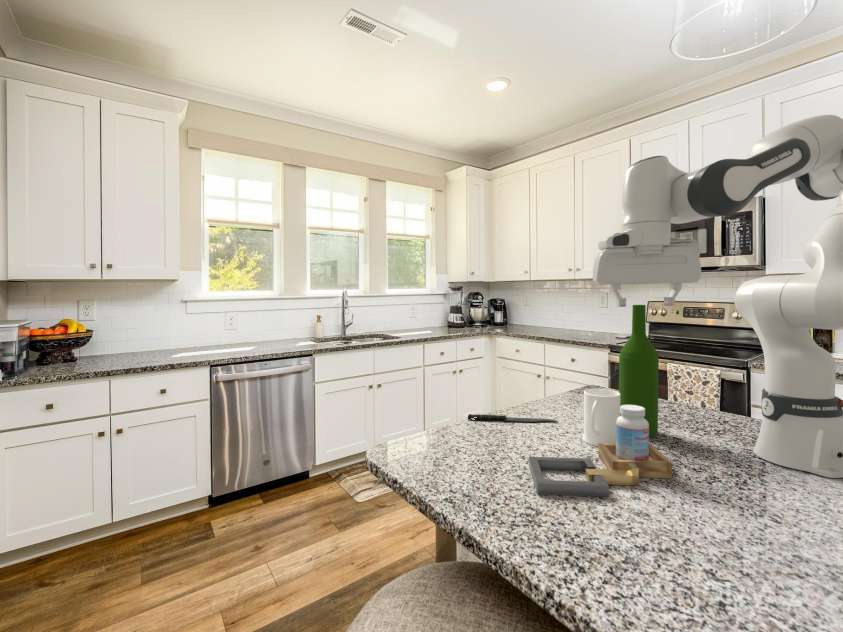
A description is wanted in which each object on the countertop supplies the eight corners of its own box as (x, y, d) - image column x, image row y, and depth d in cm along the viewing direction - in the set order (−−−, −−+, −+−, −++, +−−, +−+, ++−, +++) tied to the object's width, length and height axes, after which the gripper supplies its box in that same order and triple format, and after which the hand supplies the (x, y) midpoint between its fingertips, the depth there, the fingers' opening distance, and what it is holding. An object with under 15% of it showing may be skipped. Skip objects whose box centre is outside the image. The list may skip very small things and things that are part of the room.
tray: (651, 457, 92) (651, 444, 92) (672, 478, 82) (672, 463, 82) (598, 456, 94) (598, 443, 93) (612, 476, 84) (612, 461, 84)
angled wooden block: (633, 479, 82) (633, 463, 82) (638, 485, 80) (638, 468, 79) (585, 477, 83) (585, 461, 83) (588, 483, 81) (588, 467, 81)
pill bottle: (641, 469, 84) (642, 413, 83) (610, 460, 88) (611, 407, 88) (653, 460, 88) (654, 407, 87) (623, 452, 92) (623, 401, 92)
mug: (607, 454, 95) (608, 401, 94) (571, 445, 100) (570, 395, 100) (626, 440, 103) (626, 391, 102) (591, 432, 109) (591, 386, 108)
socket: (590, 467, 88) (590, 458, 88) (608, 496, 76) (608, 486, 75) (528, 466, 89) (528, 456, 89) (537, 494, 77) (537, 483, 77)
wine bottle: (652, 427, 112) (653, 304, 110) (662, 438, 104) (664, 305, 102) (615, 425, 115) (616, 304, 113) (622, 436, 106) (623, 305, 104)
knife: (558, 415, 120) (560, 420, 115) (558, 421, 120) (560, 426, 116) (468, 412, 125) (467, 417, 120) (468, 417, 125) (467, 422, 121)
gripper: (692, 238, 89) (691, 304, 90) (590, 242, 92) (590, 306, 92) (708, 235, 83) (707, 306, 84) (598, 238, 85) (598, 307, 86)
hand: (645, 306), depth 88 cm, fingers open, 8 cm apart
